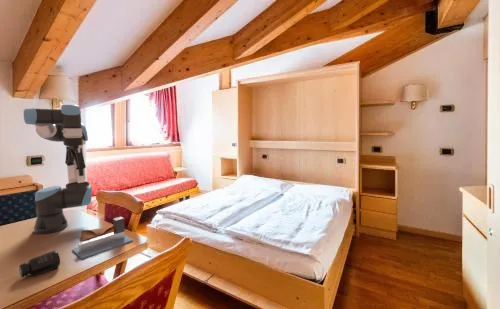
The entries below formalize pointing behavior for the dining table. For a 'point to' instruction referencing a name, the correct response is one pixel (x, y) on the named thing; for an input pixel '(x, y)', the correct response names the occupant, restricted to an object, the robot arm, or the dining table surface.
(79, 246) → the grey mallet
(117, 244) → the mat
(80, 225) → the dining table surface
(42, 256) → the supplement bottle
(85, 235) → the sunglasses case
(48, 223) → the robot arm
